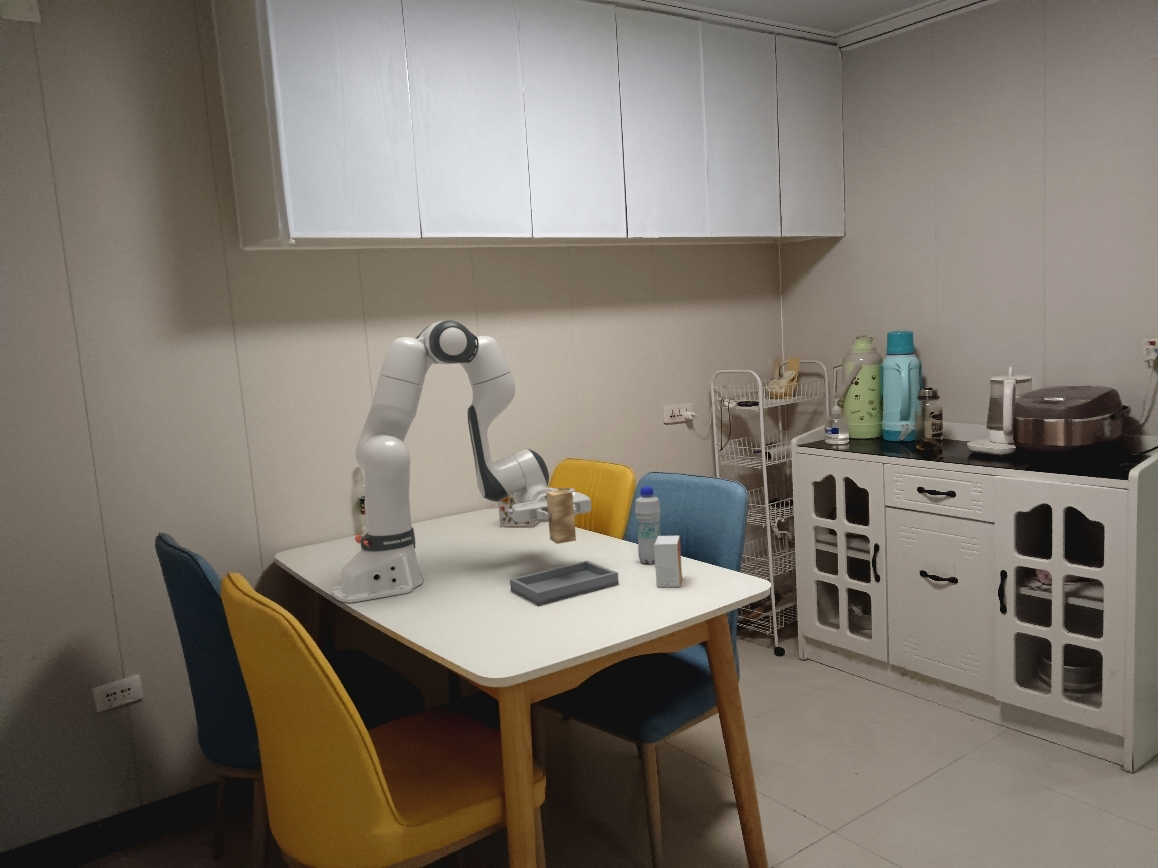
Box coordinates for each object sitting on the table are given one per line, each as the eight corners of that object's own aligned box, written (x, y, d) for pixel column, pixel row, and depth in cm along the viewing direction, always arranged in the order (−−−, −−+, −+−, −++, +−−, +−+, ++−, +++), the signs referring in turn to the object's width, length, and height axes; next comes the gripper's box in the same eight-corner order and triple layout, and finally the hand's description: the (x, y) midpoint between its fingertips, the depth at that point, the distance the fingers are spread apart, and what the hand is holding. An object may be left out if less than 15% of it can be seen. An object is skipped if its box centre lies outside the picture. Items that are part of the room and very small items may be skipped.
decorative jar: (512, 519, 273) (507, 466, 271) (545, 519, 270) (541, 465, 267) (499, 528, 261) (494, 473, 259) (533, 528, 258) (529, 472, 256)
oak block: (556, 543, 197) (552, 495, 195) (550, 539, 201) (546, 492, 200) (576, 540, 198) (572, 492, 197) (568, 536, 203) (565, 489, 201)
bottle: (669, 560, 212) (664, 485, 209) (650, 566, 208) (646, 490, 205) (651, 556, 217) (646, 483, 214) (632, 562, 213) (628, 487, 210)
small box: (680, 587, 190) (677, 543, 188) (656, 587, 191) (653, 544, 190) (682, 577, 198) (680, 535, 196) (659, 577, 199) (657, 535, 197)
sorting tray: (538, 605, 184) (537, 593, 183) (510, 591, 196) (509, 579, 195) (618, 584, 195) (617, 572, 195) (587, 572, 207) (587, 560, 207)
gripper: (504, 498, 207) (519, 508, 194) (578, 487, 214) (598, 496, 202) (506, 522, 208) (522, 533, 195) (580, 510, 215) (600, 520, 202)
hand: (561, 514), depth 198 cm, fingers closed on oak block, 5 cm apart
